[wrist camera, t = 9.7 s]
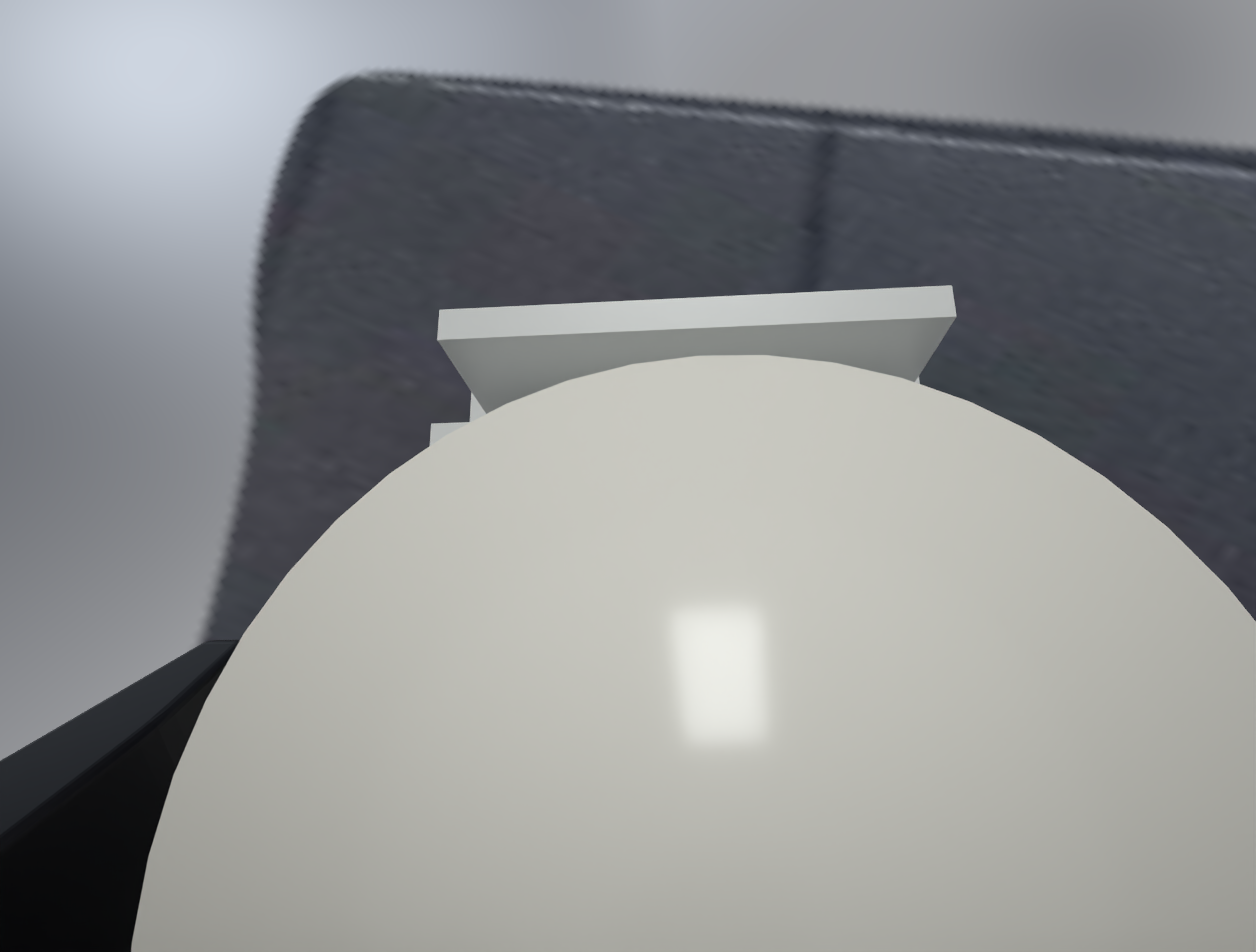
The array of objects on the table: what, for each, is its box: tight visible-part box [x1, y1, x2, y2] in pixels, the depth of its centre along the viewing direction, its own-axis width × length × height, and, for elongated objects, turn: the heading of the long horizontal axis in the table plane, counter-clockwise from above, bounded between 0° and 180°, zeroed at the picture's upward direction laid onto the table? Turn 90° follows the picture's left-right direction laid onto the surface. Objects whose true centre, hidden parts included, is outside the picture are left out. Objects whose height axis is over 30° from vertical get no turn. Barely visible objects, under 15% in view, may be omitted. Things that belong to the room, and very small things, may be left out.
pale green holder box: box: [430, 285, 956, 446], centre depth 15 cm, size 13×10×5 cm
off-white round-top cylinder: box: [131, 355, 1256, 952], centre depth 9 cm, size 6×6×12 cm
